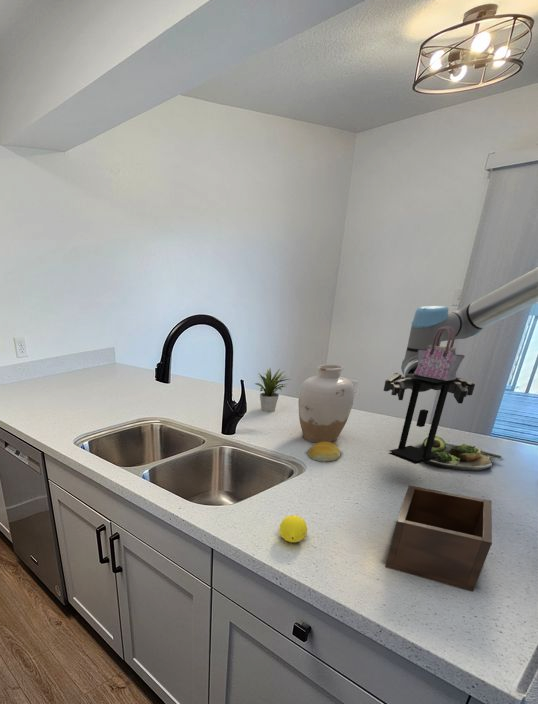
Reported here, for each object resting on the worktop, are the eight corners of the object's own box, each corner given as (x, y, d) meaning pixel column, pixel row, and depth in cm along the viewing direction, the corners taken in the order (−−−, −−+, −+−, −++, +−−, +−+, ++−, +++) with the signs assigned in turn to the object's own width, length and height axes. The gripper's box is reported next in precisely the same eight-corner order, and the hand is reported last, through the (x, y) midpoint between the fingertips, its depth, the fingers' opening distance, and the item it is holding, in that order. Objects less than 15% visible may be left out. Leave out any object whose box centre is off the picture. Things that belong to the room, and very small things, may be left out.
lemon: (279, 529, 94) (282, 507, 92) (306, 533, 92) (309, 511, 90) (276, 547, 89) (279, 524, 86) (304, 551, 87) (308, 528, 84)
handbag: (383, 451, 110) (411, 326, 96) (405, 446, 112) (435, 323, 99) (421, 466, 101) (458, 330, 88) (444, 460, 103) (483, 327, 90)
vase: (284, 439, 142) (292, 368, 131) (308, 426, 151) (318, 359, 141) (332, 450, 131) (344, 374, 121) (355, 436, 140) (368, 364, 130)
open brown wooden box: (475, 545, 85) (491, 500, 81) (473, 591, 74) (492, 543, 69) (397, 526, 93) (408, 485, 88) (384, 566, 81) (396, 521, 76)
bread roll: (305, 459, 126) (306, 446, 125) (313, 449, 133) (315, 437, 131) (335, 464, 122) (337, 451, 120) (342, 454, 128) (344, 441, 127)
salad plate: (493, 451, 124) (498, 436, 122) (508, 477, 110) (514, 460, 108) (414, 444, 132) (418, 429, 130) (418, 466, 118) (422, 451, 116)
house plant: (275, 418, 161) (280, 374, 153) (242, 412, 169) (245, 370, 162) (292, 409, 170) (297, 366, 162) (260, 404, 178) (263, 363, 171)
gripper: (470, 391, 111) (490, 416, 93) (369, 386, 120) (369, 408, 103) (479, 360, 107) (501, 381, 90) (374, 358, 117) (375, 376, 99)
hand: (431, 395), depth 96 cm, fingers closed on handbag, 11 cm apart
